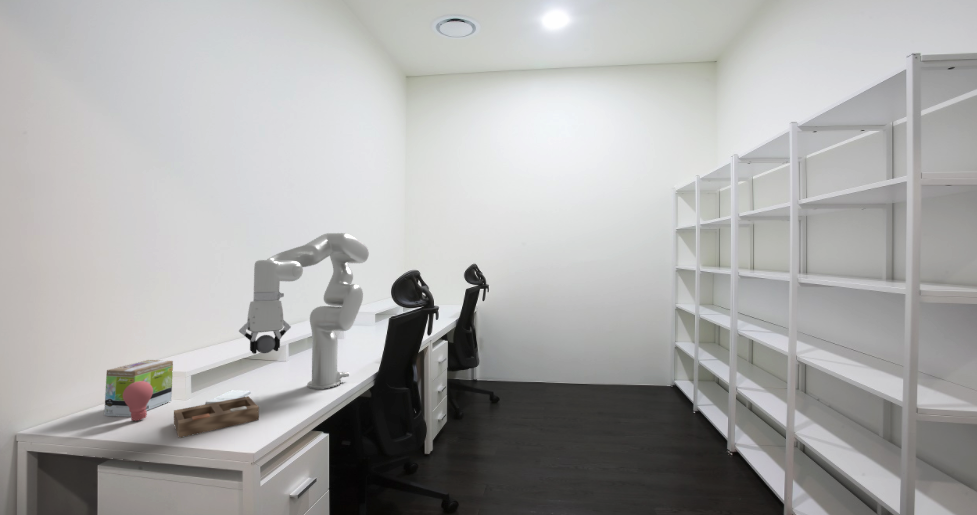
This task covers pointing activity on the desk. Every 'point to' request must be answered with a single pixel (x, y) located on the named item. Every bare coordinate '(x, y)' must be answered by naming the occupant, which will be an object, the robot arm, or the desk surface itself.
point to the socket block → (215, 416)
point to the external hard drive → (229, 396)
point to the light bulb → (138, 399)
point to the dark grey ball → (265, 344)
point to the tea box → (147, 371)
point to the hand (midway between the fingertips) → (265, 351)
